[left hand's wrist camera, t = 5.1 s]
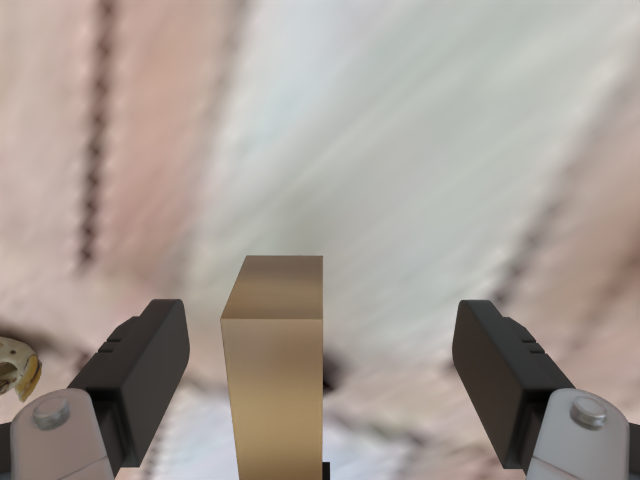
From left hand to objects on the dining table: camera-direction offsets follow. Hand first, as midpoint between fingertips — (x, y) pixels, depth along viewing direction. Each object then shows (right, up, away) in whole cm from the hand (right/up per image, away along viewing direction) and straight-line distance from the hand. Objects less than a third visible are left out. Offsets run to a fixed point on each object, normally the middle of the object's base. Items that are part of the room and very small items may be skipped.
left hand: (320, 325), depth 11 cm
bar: (-3, -11, +23) cm, 25 cm away
